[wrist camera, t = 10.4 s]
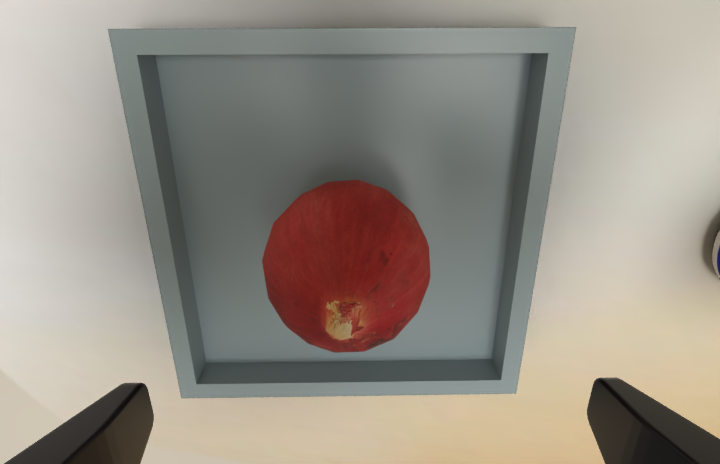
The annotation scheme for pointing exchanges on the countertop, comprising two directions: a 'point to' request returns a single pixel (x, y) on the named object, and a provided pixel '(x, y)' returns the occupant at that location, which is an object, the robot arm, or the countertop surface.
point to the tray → (340, 163)
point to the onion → (346, 266)
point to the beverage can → (716, 254)
